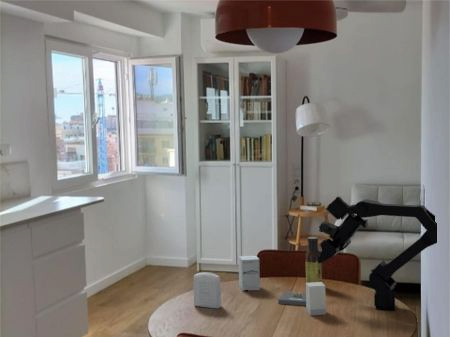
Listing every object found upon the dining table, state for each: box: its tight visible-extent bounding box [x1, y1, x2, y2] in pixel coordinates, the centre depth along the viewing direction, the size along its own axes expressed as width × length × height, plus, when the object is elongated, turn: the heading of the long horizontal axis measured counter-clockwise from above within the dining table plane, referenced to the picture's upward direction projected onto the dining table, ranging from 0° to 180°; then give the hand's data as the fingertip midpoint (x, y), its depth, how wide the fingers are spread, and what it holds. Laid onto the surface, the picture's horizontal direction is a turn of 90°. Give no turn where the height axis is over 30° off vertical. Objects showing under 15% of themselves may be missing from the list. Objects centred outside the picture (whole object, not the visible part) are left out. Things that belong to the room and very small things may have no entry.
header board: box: [278, 291, 306, 306], centre depth 196 cm, size 12×10×3 cm
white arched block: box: [193, 271, 222, 309], centre depth 192 cm, size 10×4×12 cm, turn 67°
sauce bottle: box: [305, 236, 323, 284], centre depth 211 cm, size 6×6×20 cm
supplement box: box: [238, 255, 261, 292], centre depth 213 cm, size 7×7×13 cm
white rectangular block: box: [305, 281, 327, 316], centre depth 182 cm, size 6×4×10 cm
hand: (322, 259), depth 196 cm, fingers open, 9 cm apart
